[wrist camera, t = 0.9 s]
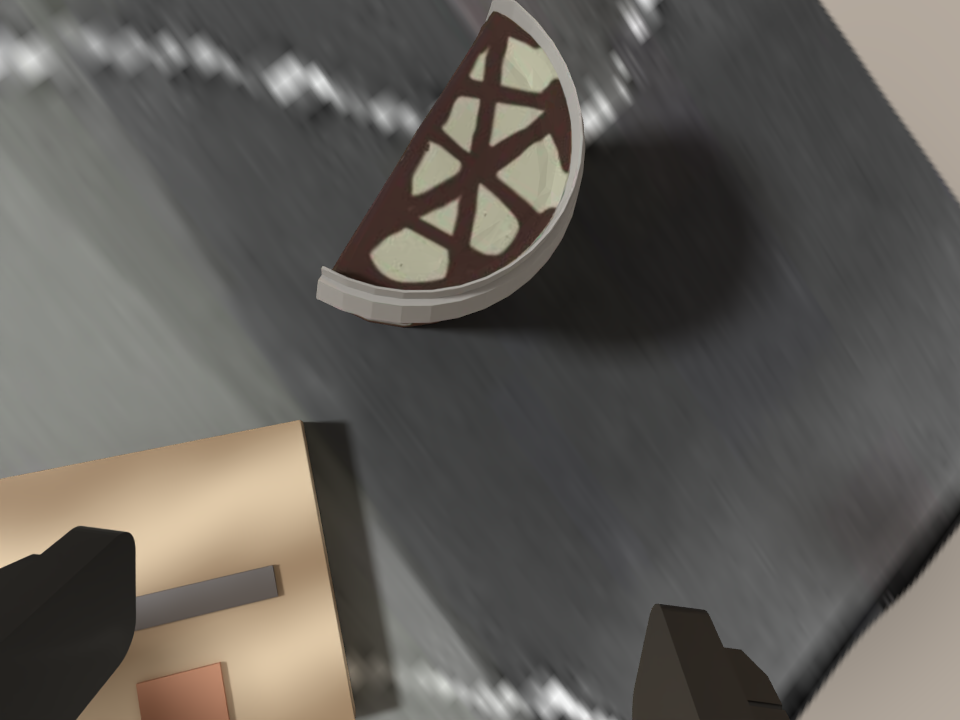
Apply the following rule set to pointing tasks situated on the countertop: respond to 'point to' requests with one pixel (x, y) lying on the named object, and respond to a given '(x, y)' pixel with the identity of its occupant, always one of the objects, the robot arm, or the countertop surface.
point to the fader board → (205, 575)
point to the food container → (471, 186)
